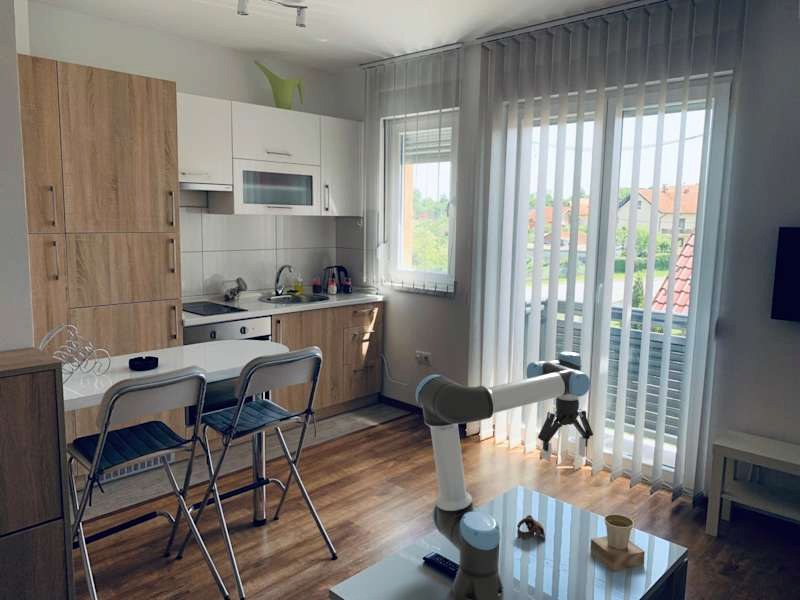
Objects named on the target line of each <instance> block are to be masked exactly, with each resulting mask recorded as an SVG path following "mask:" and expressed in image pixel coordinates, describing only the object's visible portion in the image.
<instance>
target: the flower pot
mask: <svg viewBox="0 0 800 600" xmlns="http://www.w3.org/2000/svg"><path fill="white" fill-rule="evenodd" d="M603 520H604V523H605V527H606V536H607V538H608V544H609V546H611V547H614V548H616V549H620V550H621V549H626V548H627V547H628V542H629V540H630V537H631V531H632V529H633V527H634V525H635V522H634V520H633V519H632V518H630V517H629V516H626V515H623V514H617V513H610V514H607V515H605V516H604V517H603Z"/></svg>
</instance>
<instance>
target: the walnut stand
mask: <svg viewBox="0 0 800 600" xmlns="http://www.w3.org/2000/svg"><path fill="white" fill-rule="evenodd" d="M590 554H591V555H593V557H595V558H596V559H597V560H598V561H599V562H601V563H602V564H603V565H605V567H607V568H608V569H609V570H610V571H612V572H613V573H616V572H619V571H624V570H631V569H635V568H639V567H644V566H645V550H644V549H642V548H640V546H638V545H636V544H635V543H634V542H632V541H631V540H630V539H629V542H628V547H627V548H626V549H621V550H620V549H616V548H614V547H611V546H609V544H608V538H607V535H606V536H599V537H594V538H591V539H590Z"/></svg>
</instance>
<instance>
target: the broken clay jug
mask: <svg viewBox="0 0 800 600" xmlns="http://www.w3.org/2000/svg"><path fill="white" fill-rule="evenodd" d="M523 524H525V526H526V528H527V530H528V531H522V530H521V529H520V528H521V527H522V525H523ZM535 534H537V535H541V536H542V537H543V540H544V541H546V533H545V530H544V528H543V526H542V524H541V523H540V522H539V521H537V520H536V519H534V518H533V516H532V515H530V514H527V516H526V517H525V518H522V519H521V520H520V521H519V522H518V523H517V530H516V535H517V538H518V539H521V540H529V539H533V540H535V539H536V536H535Z"/></svg>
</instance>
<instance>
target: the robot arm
mask: <svg viewBox="0 0 800 600" xmlns="http://www.w3.org/2000/svg"><path fill="white" fill-rule="evenodd" d="M581 358H582V355H580V354H579V353H577V352H574V351H573V352H572V351H561V352H559V353H558V355H557V359H550V360H549V359H548V360H536V361H532V362H530V363H528V365H527V367H526V373H525V374H526V378H524V379H520V380H515V381H512V382H506V383H502V384H499V385H498V384H497V385H494V386H489V387H487V386H485V385H478V386H466V385H463V384H460V383H457V382H455V381H453V380H451V379H449V378H448V377H447V376H444V375H440V374H432V375H431V374H430V375H428V376H426V377H425V378H423V379H422V380H421V381H420V382H419V384H418V385H417V387H416V390H415V401H416V403H417V404H418V406H419V407H420V408H422V414H423V420H424V424H425V425H426V426H428V427H429V428H430V434H431V435H430V436H431V443H432V449H433V456H434V463H435V472H436V478H437V485H438V493H439V495H438V496H437V497H436V499H435V506H433V509H432V520H433V521H432V522H433V524H434V526H435V527H436V529H437V531H438V532H439V533H440V534H441V535H442V536H444V537H445V538H446V539H447V540H448V541H449V542H450V543H451V544H452V545H453V546H454V548H456V549H457V550H458V552H459V561H458V562H459V563H458V564H459V565H458V566H459V567H458V569H457V573H456V575H455V578H454V580H453V584H452V594H453V597H454V599H455V598H456V599H457V600H504V593H505V592H504V586H503V582H502V580H501V579H502V578H501V576H500V573H499V564H500V563H499V560H500V558H499V557H500V540H501V533H500V525H499V522H498V521H497V520H496V518H495V517H493V515H490V514H489V513H483V511H475V509H474V504H473V497H472V495H471V494H470V493H468V491H467V488H466V479H465V470H464V464H463V463H464V462H463V456H462V455H463V454H462V447H461V439H460V431H459V425H461V424H469V423H474V422H475V423H476V422H478V421H479V422H480V421H484V420H488V419H491V418H492V417H493V416H494V414H495V413H500V412H504V411H508V410H513V409H515V408H516V409H517V408H520V407H523V406H527V405H531V404H535V403H536V404H537V403H539V402H543V401H546V400H547V401H548V400H551V399H554V398H555V410H556V411H555V412H551V411H548V412H547V413H546V414H547V415H546V419H545V421H544V423H543V425H542V428H541V429H540V432H539V434H538V436H537V439H538V440H540V441H542V450H543V451H544V452H543V453H544V457H543V458H544V460H545V461H547V462H551V458H552V457H551V456H552V455H551V454H552V441H551V440H552V438H553V437H554V436H555V434H557V431H559V429H560V428H562V426H568V425H569V426H572V425H573V426H574V427H575V428H576V430H577V431H578V433H579V434H580V435H581V436H579V437H578V455H579V456H580V457H582V458H585V457H586V448H587V447H588V440H590V439H591V437H593V436H594V433H593V430H592V428H591V426H590V423H589V420H588V418H587V411H586V410H583V409H582V408H580V407H579V406H580V399H579V398H580V397H583V396H585V395H586V394H587V393H588V391H589V389H590V388H591V381H590V380H591V379H590V377H589V375H587V374H586V373H584V372H582V359H581ZM578 417H579V419H580V422H581V423H580V422H579V421H578V419H577V418H578ZM581 424H582V425H581ZM456 599H455V600H456Z"/></svg>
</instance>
